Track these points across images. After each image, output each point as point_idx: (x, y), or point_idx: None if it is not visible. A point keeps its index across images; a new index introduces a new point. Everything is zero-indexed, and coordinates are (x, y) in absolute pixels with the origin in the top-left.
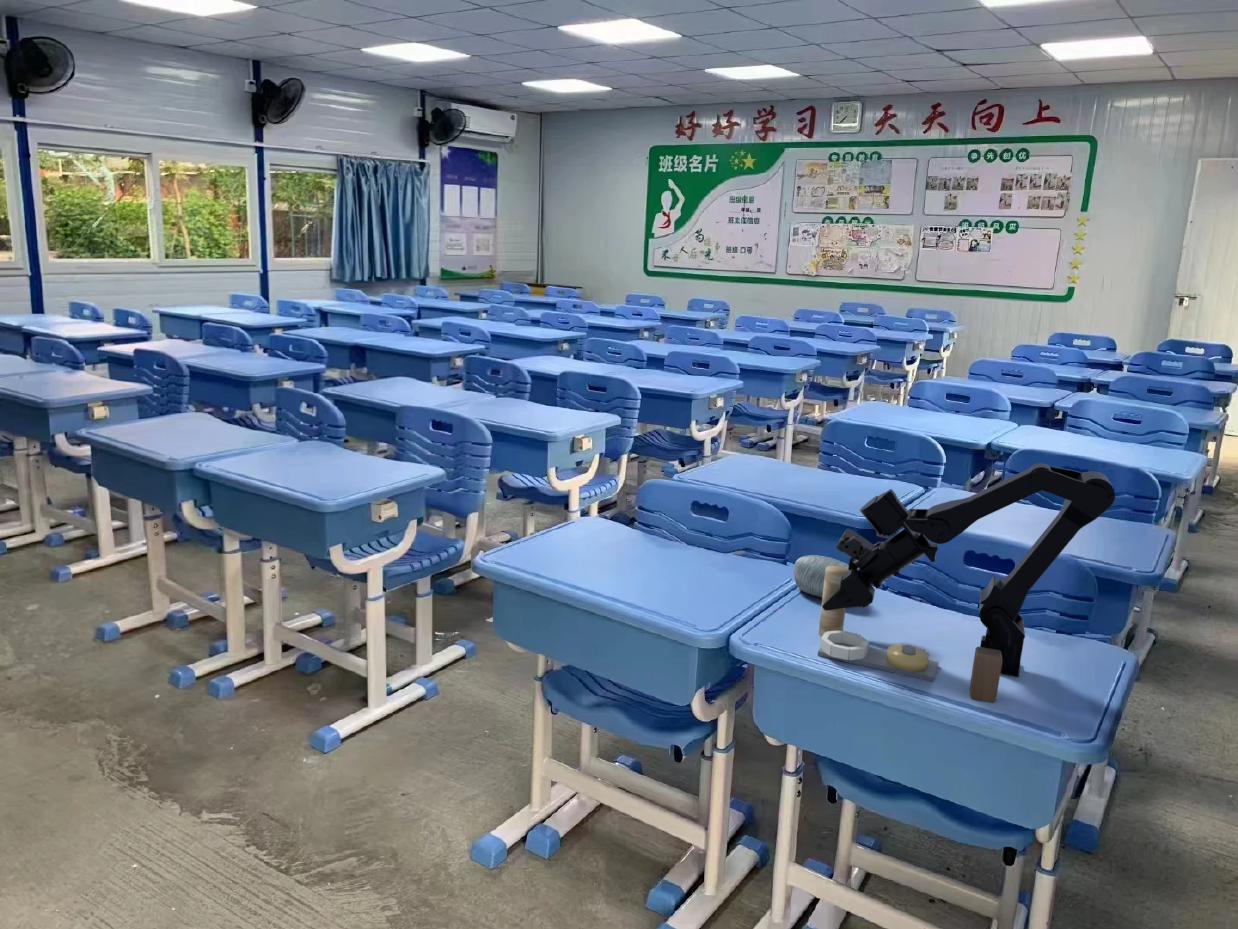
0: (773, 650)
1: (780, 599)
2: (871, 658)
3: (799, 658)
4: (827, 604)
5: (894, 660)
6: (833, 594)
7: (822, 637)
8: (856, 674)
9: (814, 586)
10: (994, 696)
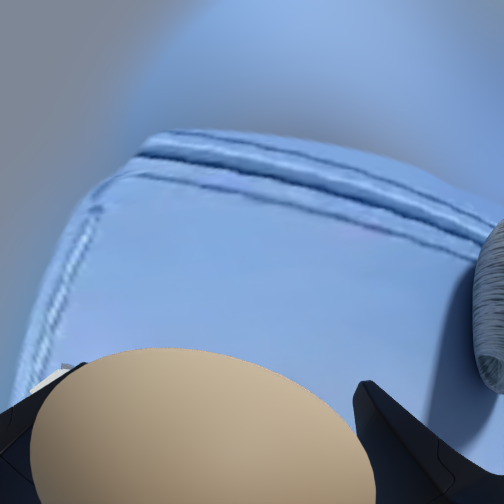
0: (70, 252)
1: (418, 223)
2: None
3: (44, 316)
4: None
5: None
6: (31, 415)
7: (65, 372)
8: None
9: (483, 287)
10: None
